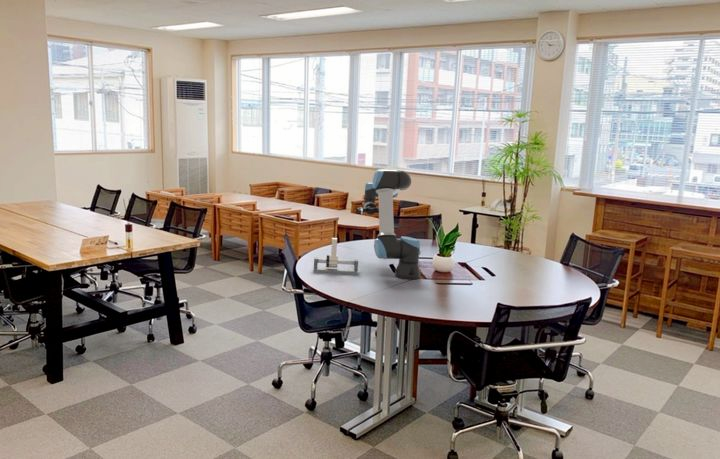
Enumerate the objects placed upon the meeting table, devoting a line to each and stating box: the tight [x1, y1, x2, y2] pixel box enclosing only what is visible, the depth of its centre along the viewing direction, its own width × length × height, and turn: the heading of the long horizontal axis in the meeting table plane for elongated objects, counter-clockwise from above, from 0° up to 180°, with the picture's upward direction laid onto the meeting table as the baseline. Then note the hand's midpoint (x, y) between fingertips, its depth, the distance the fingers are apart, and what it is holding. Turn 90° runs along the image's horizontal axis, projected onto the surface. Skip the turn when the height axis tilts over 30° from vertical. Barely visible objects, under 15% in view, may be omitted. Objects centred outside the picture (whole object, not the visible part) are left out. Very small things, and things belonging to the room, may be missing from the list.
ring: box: [325, 254, 329, 267], centre depth 348 cm, size 2×7×7 cm, turn 2°
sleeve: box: [328, 237, 339, 268], centre depth 347 cm, size 5×7×18 cm
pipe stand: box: [312, 257, 359, 276], centre depth 348 cm, size 26×10×8 cm, turn 92°
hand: (373, 213), depth 361 cm, fingers open, 13 cm apart
